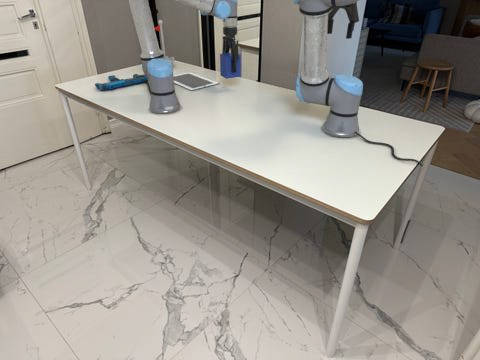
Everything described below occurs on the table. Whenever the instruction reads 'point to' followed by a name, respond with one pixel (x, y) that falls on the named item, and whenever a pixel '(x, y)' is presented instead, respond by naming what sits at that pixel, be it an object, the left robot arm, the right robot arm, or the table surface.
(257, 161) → the table surface
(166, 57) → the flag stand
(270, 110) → the table surface
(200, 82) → the tablet
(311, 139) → the table surface
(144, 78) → the submachine gun
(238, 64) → the block
